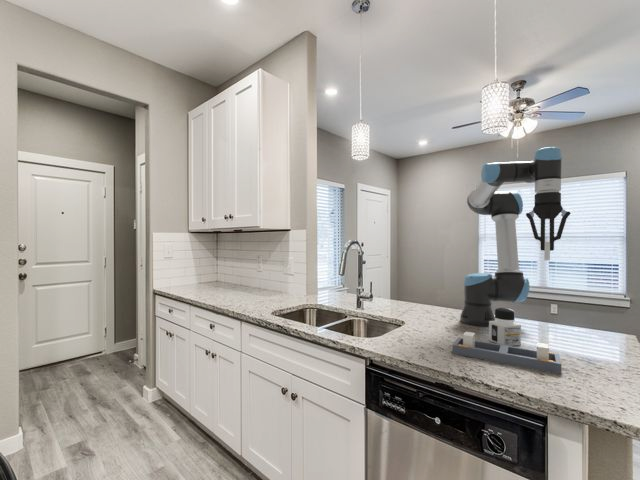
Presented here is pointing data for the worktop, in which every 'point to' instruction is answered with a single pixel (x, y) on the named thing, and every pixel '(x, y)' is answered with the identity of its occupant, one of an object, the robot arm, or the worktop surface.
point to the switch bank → (508, 355)
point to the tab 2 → (542, 351)
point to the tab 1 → (469, 339)
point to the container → (505, 328)
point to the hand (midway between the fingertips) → (547, 260)
